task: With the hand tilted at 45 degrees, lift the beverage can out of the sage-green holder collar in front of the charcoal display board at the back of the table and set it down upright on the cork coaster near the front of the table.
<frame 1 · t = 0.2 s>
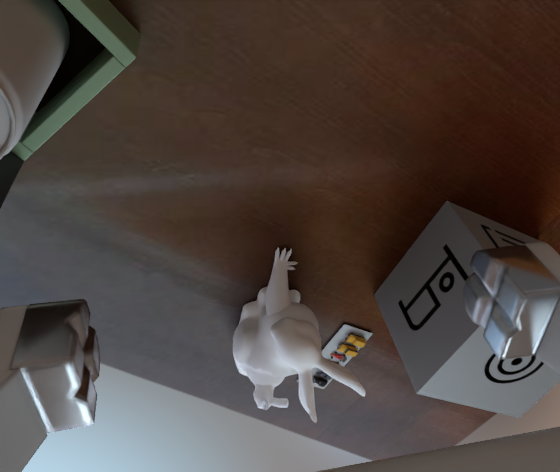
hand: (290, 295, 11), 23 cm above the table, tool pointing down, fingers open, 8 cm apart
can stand: (24, 24, 28), on the table
toy car: (333, 356, 48), on the table
beverage can: (25, 24, 29), resting in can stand
rabbit figurine: (284, 309, 44), on the table
icon cube: (454, 266, 44), on the table
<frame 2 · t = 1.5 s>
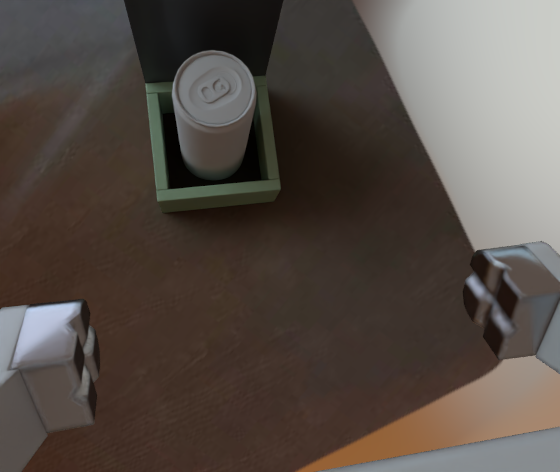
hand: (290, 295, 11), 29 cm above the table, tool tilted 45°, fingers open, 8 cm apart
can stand: (212, 153, 41), on the table
beverage can: (212, 154, 42), resting in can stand
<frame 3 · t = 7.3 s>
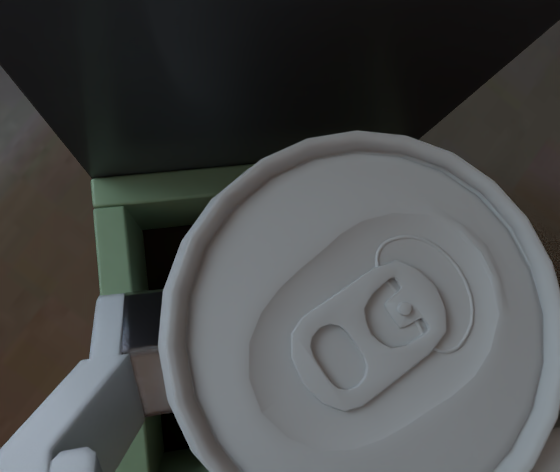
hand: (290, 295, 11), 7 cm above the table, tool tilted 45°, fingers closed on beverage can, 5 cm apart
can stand: (261, 323, 18), on the table
beverage can: (261, 322, 18), resting in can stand, touching gripper
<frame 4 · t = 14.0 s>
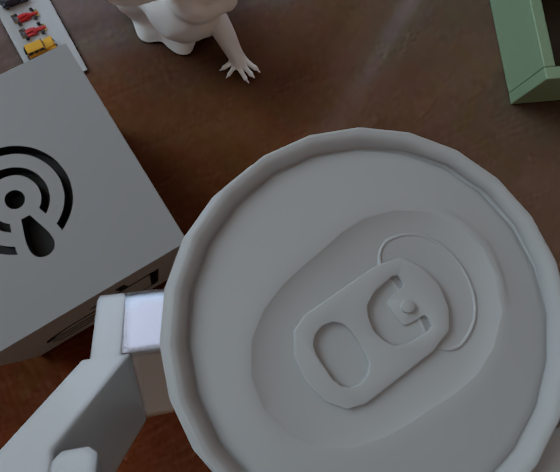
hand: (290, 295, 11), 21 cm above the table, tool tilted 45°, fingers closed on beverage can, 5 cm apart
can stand: (554, 42, 38), on the table
toy car: (34, 26, 33), on the table
beverage can: (261, 322, 18), point 14 cm above the table, touching gripper
rabbit figurine: (164, 26, 34), on the table
icon cube: (76, 236, 31), on the table
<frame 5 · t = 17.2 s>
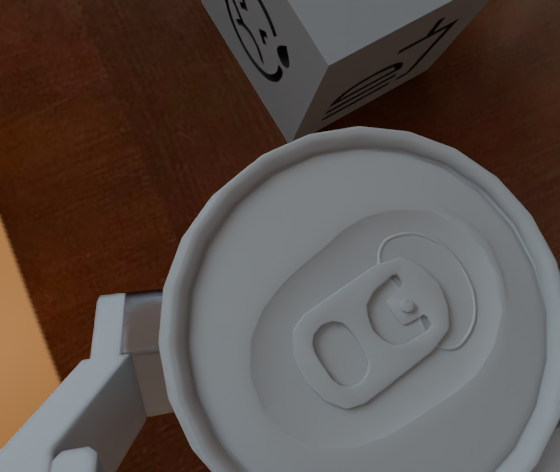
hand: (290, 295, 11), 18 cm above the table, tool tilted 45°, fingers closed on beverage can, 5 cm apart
beverage can: (261, 321, 18), point 11 cm above the table, touching gripper
icon cube: (316, 38, 32), on the table
when the fingers open (7 cm above the table, at t = 20.6 s): beverage can stays where it is, resting on coaster.
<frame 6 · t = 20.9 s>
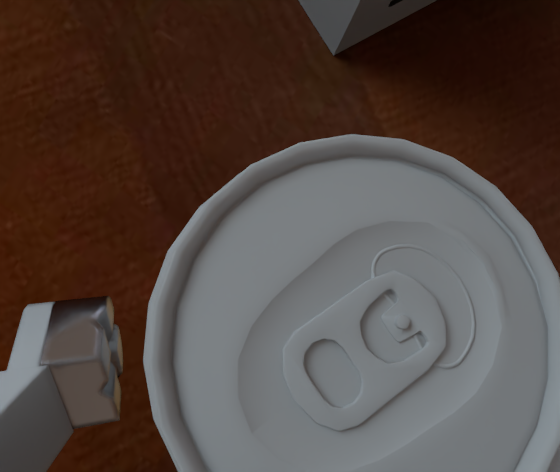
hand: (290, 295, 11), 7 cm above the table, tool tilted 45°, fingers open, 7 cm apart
beverage can: (258, 327, 17), resting on coaster
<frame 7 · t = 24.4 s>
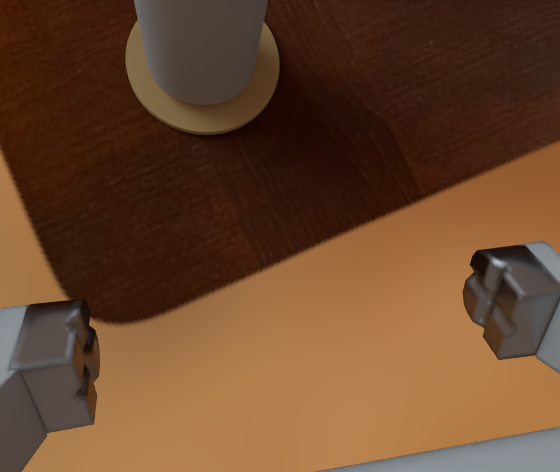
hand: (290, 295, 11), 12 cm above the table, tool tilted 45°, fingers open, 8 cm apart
coaster: (204, 63, 25), on the table
beverage can: (201, 64, 24), resting on coaster
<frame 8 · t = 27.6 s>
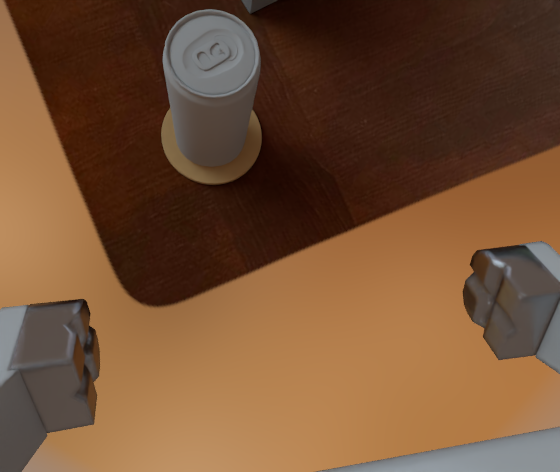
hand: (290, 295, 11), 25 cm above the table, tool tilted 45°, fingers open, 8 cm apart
coaster: (212, 137, 38), on the table
beverage can: (210, 137, 37), resting on coaster
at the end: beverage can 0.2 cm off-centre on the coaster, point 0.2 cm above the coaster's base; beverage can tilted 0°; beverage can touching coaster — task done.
